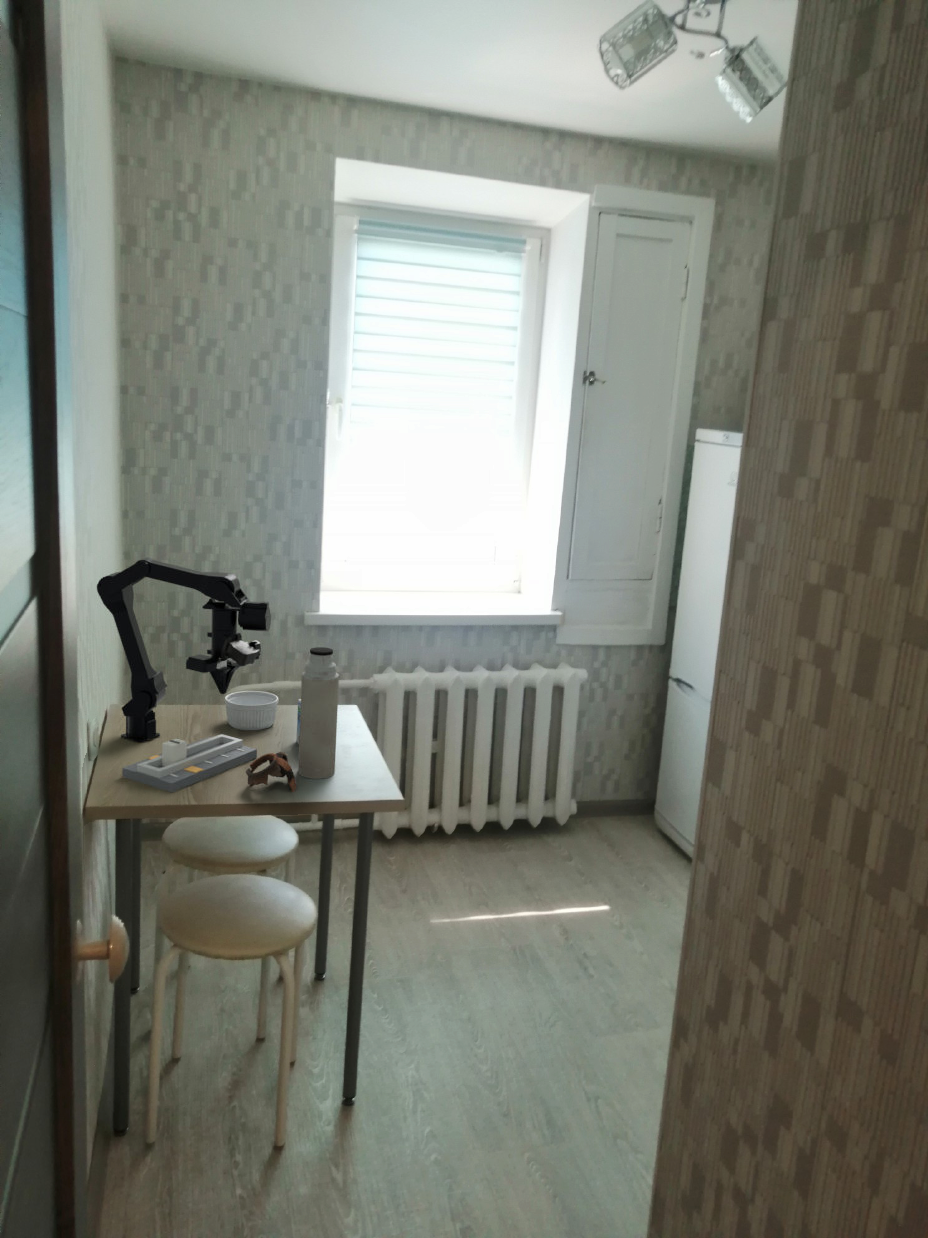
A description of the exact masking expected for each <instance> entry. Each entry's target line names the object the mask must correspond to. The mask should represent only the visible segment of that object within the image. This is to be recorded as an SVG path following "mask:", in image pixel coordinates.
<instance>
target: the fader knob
mask: <svg viewBox="0 0 928 1238" xmlns="http://www.w3.org/2000/svg"><path fill="white" fill-rule="evenodd" d="M187 745H188V741H187V740H183V739H179V738H174V739H169V740H167V741H165V742H162V743H161V754H162V766H168V765H170V764H173V763H176V762H178V761H181V760H184V759H186V758H187Z"/></svg>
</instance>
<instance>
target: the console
mask: <svg viewBox="0 0 928 1238" xmlns="http://www.w3.org/2000/svg"><path fill="white" fill-rule="evenodd" d="M257 755H258V749H257V748H253V747H251V746H250V747H249V746H247V745H244V740H243V739H241V738H237V737H234V736H229V735H226V734H224V733H223V734H222V733H221V734H218V735H216V736H208V737H204V738H201V739H199V740H196V741H193V742H191V743H187V758H186V759H184V760H181V761H178V762H176V763H173V764H170V765H168V766H162V753H159V754H157V755H153V756H150V757H148V758H147V759H146V758H145V759H144V760H140V761H137V762H135V763H132V764H129V765H126V766H123V767H122V768H121V771H122V772H121V775H122V778H125V779H127V780H131V781H134V782H137V783H140V784H144V785H147V786H150V787H153V788H157V789H159V790H163V791H166V792H169V793H174V792H177V791H179V790H181V789H184V788H186V787H189V786H191V785H194V784H196V783H198V782H201V781H203V780H206V779H209V778H211V777H213V776H216V775H218V774H221V773H223V772H225V771H228V770H230V769H232V768H235V767H237V766H239V765H242V764H244V763H245V764H246V763H247V762H249V761H252V760H256V759H258V757H257Z"/></svg>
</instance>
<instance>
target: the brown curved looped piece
mask: <svg viewBox="0 0 928 1238" xmlns="http://www.w3.org/2000/svg"><path fill="white" fill-rule="evenodd" d="M267 762H269V763H268V765H267V766H266V767H265V768H264V769H262V770H260V771H257V772H255V770H257V769H258V767H260V766H261V765H263V764H266V763H267ZM245 773H246V776H247V784H248V785H249V786H251V787H253V786H258V785H262V784H264V785H267V786H269V782H268V780H269V776H271V777H276V778H281V779H282V778H284V777H286V780H287V783H288V785H289V787H290V790H291V791H290V792H292V793H294V792H295V791H296V789H297V786H298V785H297V782H296V777H295V775H294V771H293V769H292V766H291V765H290V764H289V759H288V756H287V755H286V753H285V752H283V751H278V752H276V753H273V752H272V753H266V754H263V755H261V756H260V757H257V758H255V759H254V760H253V761H252V762H251V764H249V768H247V769H246V771H245Z"/></svg>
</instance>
